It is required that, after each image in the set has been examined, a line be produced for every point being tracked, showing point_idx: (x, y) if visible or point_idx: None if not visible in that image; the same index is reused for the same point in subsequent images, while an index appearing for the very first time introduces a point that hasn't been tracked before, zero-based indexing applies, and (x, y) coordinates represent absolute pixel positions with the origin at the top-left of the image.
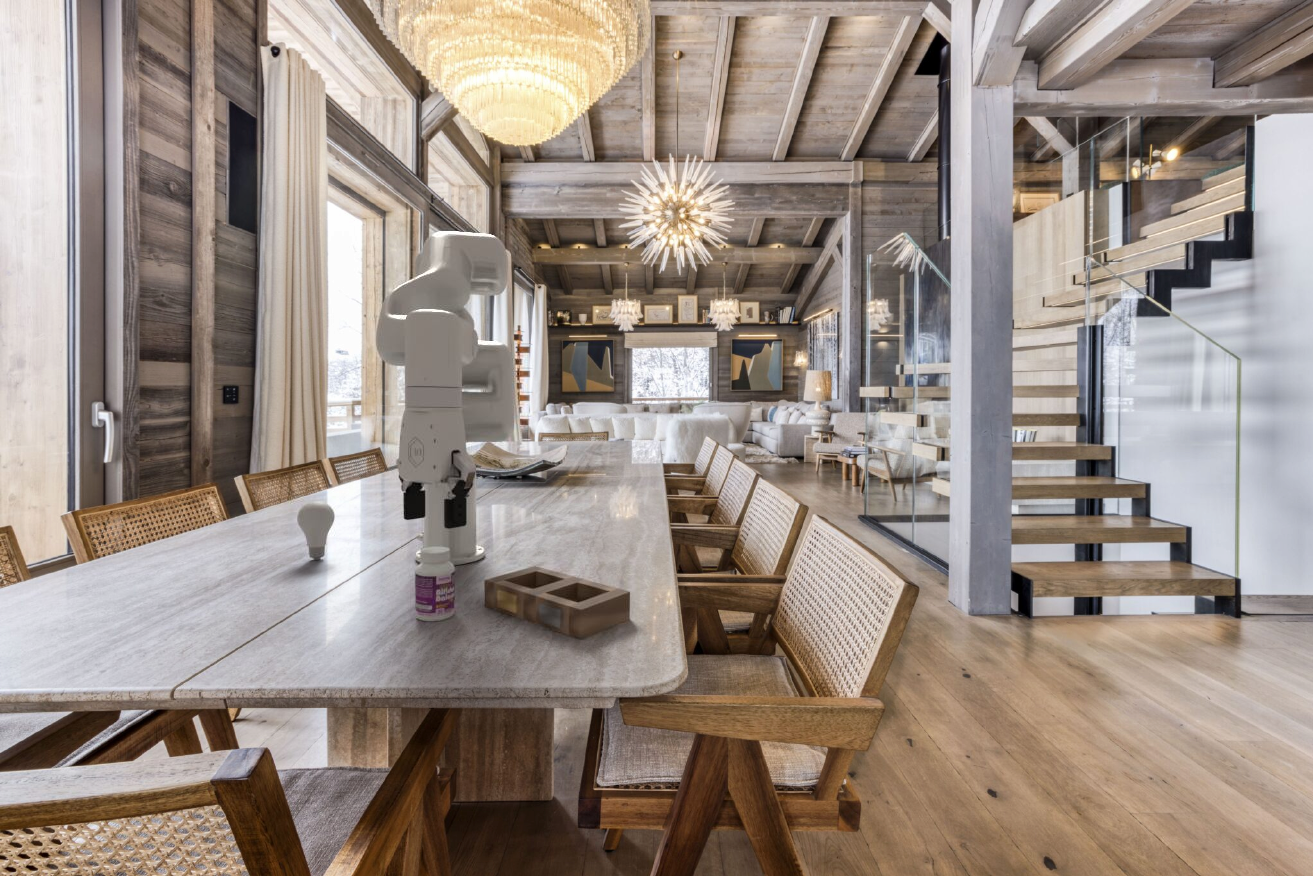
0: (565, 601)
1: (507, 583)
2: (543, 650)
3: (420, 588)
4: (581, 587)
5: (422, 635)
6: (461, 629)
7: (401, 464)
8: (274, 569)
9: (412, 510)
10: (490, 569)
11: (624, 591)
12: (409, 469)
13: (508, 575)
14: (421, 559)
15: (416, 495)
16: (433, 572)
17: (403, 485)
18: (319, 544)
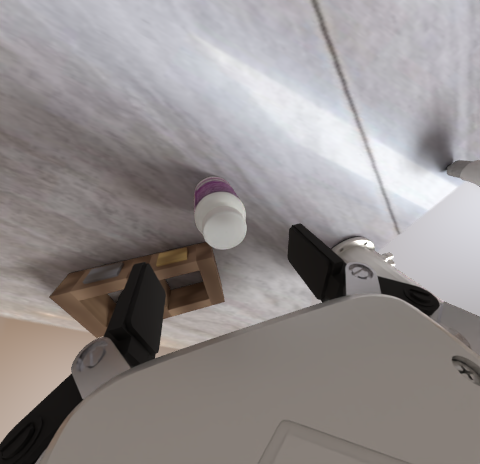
0: (89, 293)
1: (186, 270)
2: (51, 239)
3: (209, 187)
4: None
5: (161, 160)
6: (157, 201)
7: (445, 364)
8: (471, 115)
9: (298, 247)
10: (293, 274)
11: (99, 335)
12: (342, 369)
13: (212, 278)
14: (223, 206)
15: (317, 279)
16: (198, 208)
17: (370, 276)
18: (466, 170)
